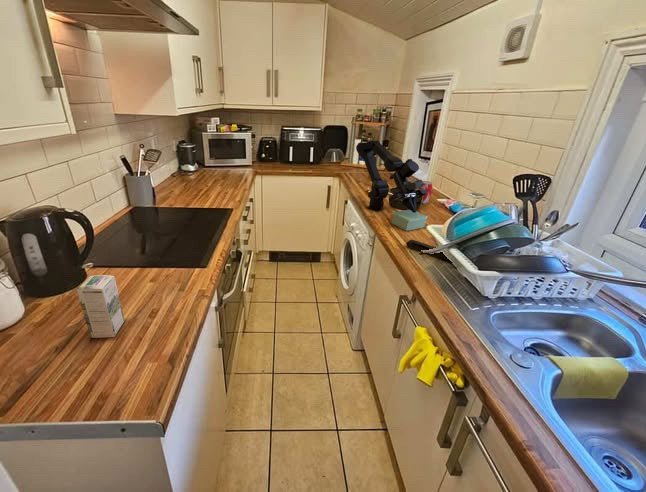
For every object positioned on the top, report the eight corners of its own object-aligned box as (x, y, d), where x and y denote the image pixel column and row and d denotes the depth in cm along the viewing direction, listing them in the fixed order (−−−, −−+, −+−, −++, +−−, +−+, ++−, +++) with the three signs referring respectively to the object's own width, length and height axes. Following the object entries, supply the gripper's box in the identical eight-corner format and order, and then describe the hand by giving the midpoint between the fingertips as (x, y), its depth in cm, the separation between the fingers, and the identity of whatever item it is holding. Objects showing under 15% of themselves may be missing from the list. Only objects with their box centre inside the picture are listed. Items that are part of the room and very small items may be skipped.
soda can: (430, 204, 170) (434, 184, 166) (417, 203, 172) (421, 183, 167) (427, 200, 177) (432, 181, 172) (415, 199, 178) (419, 180, 173)
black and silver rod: (405, 246, 122) (406, 240, 121) (408, 244, 124) (409, 238, 123) (452, 263, 111) (453, 256, 110) (454, 260, 113) (456, 253, 112)
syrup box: (102, 322, 78) (88, 274, 72) (126, 321, 78) (114, 274, 73) (90, 338, 73) (74, 289, 67) (115, 337, 73) (102, 288, 67)
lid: (427, 218, 138) (428, 216, 138) (408, 221, 134) (409, 220, 134) (411, 210, 147) (411, 209, 147) (393, 213, 142) (393, 212, 142)
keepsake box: (424, 227, 141) (426, 217, 139) (405, 231, 136) (407, 221, 134) (409, 219, 149) (411, 210, 147) (391, 223, 144) (392, 213, 142)
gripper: (397, 175, 131) (411, 207, 127) (428, 172, 139) (442, 202, 134) (382, 187, 141) (395, 217, 136) (412, 184, 148) (425, 212, 144)
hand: (415, 212), depth 137 cm, fingers closed
